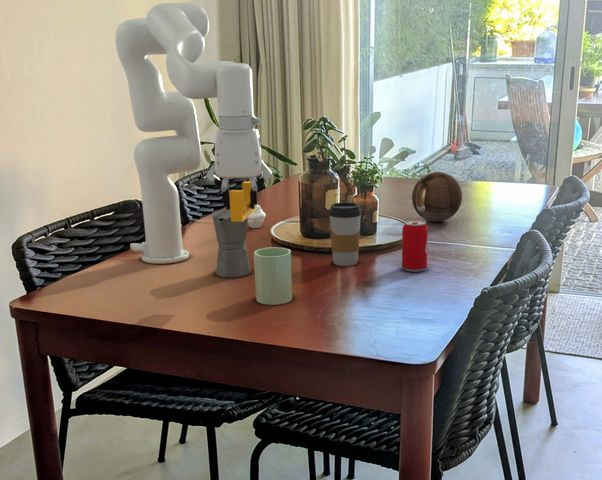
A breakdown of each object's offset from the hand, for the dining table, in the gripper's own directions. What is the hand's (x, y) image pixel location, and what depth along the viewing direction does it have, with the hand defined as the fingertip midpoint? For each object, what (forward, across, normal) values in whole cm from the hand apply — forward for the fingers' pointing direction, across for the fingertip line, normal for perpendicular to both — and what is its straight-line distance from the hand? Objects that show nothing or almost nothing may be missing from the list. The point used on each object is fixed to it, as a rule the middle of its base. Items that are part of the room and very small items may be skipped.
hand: (240, 207), depth 192 cm
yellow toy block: (+2, 0, 0) cm, 2 cm away
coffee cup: (+21, -24, -26) cm, 41 cm away
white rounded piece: (+21, +3, -68) cm, 71 cm away
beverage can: (+21, -41, -20) cm, 50 cm away
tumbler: (+21, -7, +3) cm, 22 cm away
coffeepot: (+21, +4, -20) cm, 29 cm away
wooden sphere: (+21, -52, -72) cm, 91 cm away
